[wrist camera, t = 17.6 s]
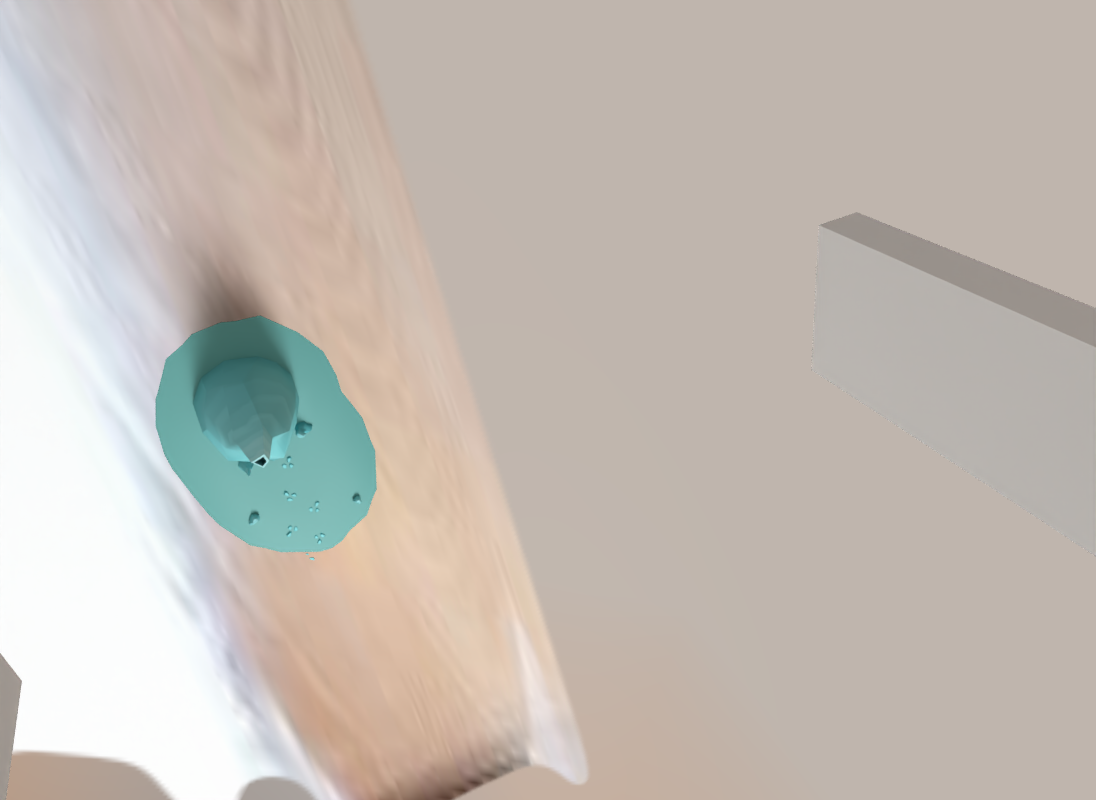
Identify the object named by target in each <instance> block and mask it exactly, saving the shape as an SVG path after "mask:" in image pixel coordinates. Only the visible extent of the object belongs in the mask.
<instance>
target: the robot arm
mask: <svg viewBox="0 0 1096 800" xmlns="http://www.w3.org/2000/svg"><path fill="white" fill-rule="evenodd" d="M812 350H813V351H812V370H813V371H814V372H816V373H817V374H819V375H820V376H822V377H823V378H825V379H826V380H828V381H830V382H831V383H832V384H834V385H836V386H837V387H839V388H840V389H841V390H843V391H845V392H846V393H848V394H849V395H851V396H852V397H854V398H855V399H857V400H858V401H860V402H861V403H863V404H864V405H866V406H867V407H869V408H870V409H872V410H874V411H875V412H876V413H878V414H880V415H881V416H883V417H884V418H886V419H887V420H889V421H890V422H892V423H893V424H895V425H896V426H898V427H900V428H901V429H902V430H904V431H905V432H907V433H909V434H910V435H912V436H913V437H915V438H916V439H918V440H919V441H921V442H922V443H924V444H925V445H927V446H928V447H930V448H931V449H933V450H935V451H936V452H937V453H939V454H940V455H942V456H944V457H945V458H947V459H948V460H950V461H951V462H953V463H954V464H956V465H957V466H959V467H960V468H962V469H963V470H965V471H967V472H968V473H969V474H971V475H973V476H974V477H975V478H977V479H979V480H980V481H982V482H983V483H985V484H986V485H988V486H989V487H991V488H992V489H994V490H996V491H997V492H998V493H1000V494H1002V495H1003V496H1004V497H1006V498H1007V499H1009V500H1011V501H1012V502H1014V503H1015V504H1017V505H1018V506H1020V507H1021V508H1023V509H1024V510H1026V511H1027V512H1029V513H1030V514H1032V515H1034V516H1035V517H1037V518H1038V519H1040V520H1041V521H1043V522H1044V523H1046V524H1047V525H1049V526H1050V527H1052V528H1053V529H1055V530H1056V531H1058V532H1059V533H1061V534H1062V535H1064V536H1065V537H1067V538H1068V539H1070V540H1071V541H1073V542H1075V543H1076V544H1078V545H1079V546H1081V547H1082V548H1084V549H1085V550H1087V551H1088V552H1090V553H1091V554H1093V555H1094V556H1096V308H1094V307H1092V306H1089V305H1087V304H1084V303H1082V302H1079V301H1077V300H1074V299H1072V298H1069V297H1067V296H1064V295H1062V294H1059V293H1057V292H1054V291H1052V290H1049V289H1047V288H1044V287H1042V286H1039V285H1037V284H1034V283H1032V282H1029V281H1027V280H1024V279H1022V278H1019V277H1017V276H1014V275H1012V274H1010V273H1007V272H1005V271H1002V270H999V269H997V268H995V267H992V266H990V265H987V264H984V263H982V262H980V261H977V260H975V259H972V258H970V257H967V256H964V255H962V254H960V253H957V252H955V251H952V250H949V249H947V248H945V247H942V246H940V245H937V244H934V243H932V242H930V241H927V240H925V239H922V238H920V237H917V236H915V235H912V234H910V233H907V232H905V231H902V230H900V229H897V228H895V227H892V226H890V225H887V224H885V223H882V222H880V221H877V220H875V219H872V218H870V217H867V216H865V215H862V214H860V213H854V214H851V215H848V216H845V217H842V218H839V219H836V220H833V221H830V222H827V223H824V224H821V225H819V234H818V253H817V273H816V291H815V310H814V330H813V349H812ZM21 683H22V681H21V679H20V678H19V677H18V676H17V674H16V673H15V672H14V670H13V669H12V668H11V667H10V665H9V664H8V663H7V661H6V660H5V659H4V657H3V656H2V655H1V654H0V800H6V795H7V788H8V780H9V772H10V764H11V757H12V750H13V743H14V735H15V728H16V720H17V713H18V705H19V698H20V690H21Z"/></svg>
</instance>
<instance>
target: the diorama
mask: <svg viewBox="0 0 1096 800" xmlns="http://www.w3.org/2000/svg"><path fill="white" fill-rule="evenodd" d="M156 428H157V431H158V435H159V438H160V441H161V445H162V448H163V451H164V454H165V456H166V458H167V460H168V462H169V464H170V465H171V467H172V469H173V470H174V472H175V473H176V474H177V475H178V477H179V478H180V479H181V481H182V482H183V483H184V484H185V486H186V487H187V488H188V490H189V491H190V492H191V494H192V495H193V496H194V497H195V498H196V500H197V501H198V502H199V503H200V504H201V506H202V507H203V508H204V509H205V510H206V512H207V513H208V514H209V515H210V516H211V517H212V518H213V519H214V520H215V521H216V522H217V523H218V524H219V525H220V526H222V527H223V528H225V529H226V530H228V531H229V532H231V533H232V534H234V535H235V536H237V537H238V538H240V539H242V540H243V541H245V542H246V543H248V544H249V545H252V546H257V547H262V548H267V549H271V550H275V551H279V552H320V551H323V550H326V549H329V548H332V547H334V546H335V545H337V544H338V543H339V542H341V541H342V540H343V539H344V537H345V536H346V535H347V533H348V532H349V531H350V530H351V529H352V528H353V527H354V526H355V525H356V524H357V523H358V522H360V521H361V520H362V519H363V518H364V517H365V516H366V515H367V513H368V510H369V507H370V504H371V501H372V498H373V496H374V494H375V491H376V464H375V450H374V447H373V445H372V443H371V440H370V438H369V435H368V432H367V430H366V427H365V424H364V421H363V419H362V417H361V416H360V414H359V413H358V412H357V410H356V409H355V408H354V407H353V405H352V404H351V403H350V402H349V400H348V399H347V398H346V397H345V395H344V394H343V393H342V392H341V389H340V386H339V383H338V379H337V376H336V374H335V372H334V370H333V368H332V367H331V365H330V363H329V361H328V359H327V358H326V356H325V354H324V352H323V351H322V350H320V349H319V348H318V347H316V346H315V345H314V344H312V343H311V342H310V341H308V340H307V339H306V338H304V337H303V336H302V335H300V334H299V333H298V332H296V331H293V330H291V329H289V328H287V327H285V326H282V325H280V324H278V323H276V322H273V321H271V320H269V319H267V318H264V317H262V316H256V317H251V318H247V319H243V320H238V321H231V322H221V323H218V324H216V325H213V326H211V327H209V328H206V329H204V330H201V331H199V332H196V333H194V334H192V335H191V336H190V337H189V338H188V339H187V340H186V341H185V343H184V344H183V345H182V346H181V347H179V348H178V349H177V350H176V351H175V352H174V353H173V354H171V355H170V356H169V357H168V358H167V359H166V362H165V366H164V370H163V374H162V378H161V382H160V386H159V390H158V394H157V397H156ZM307 555H309V554H308V553H307ZM310 559H311V560H314V558H313V557H312V558H310Z"/></svg>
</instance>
